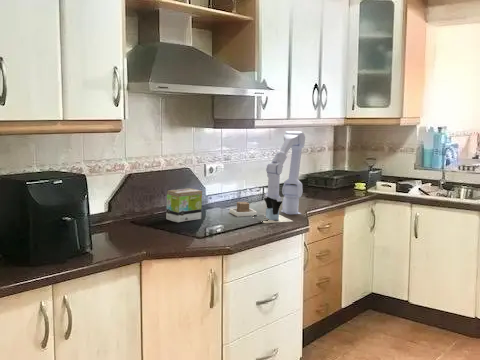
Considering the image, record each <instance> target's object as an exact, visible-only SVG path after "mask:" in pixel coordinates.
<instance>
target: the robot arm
mask: <svg viewBox="0 0 480 360" xmlns="http://www.w3.org/2000/svg"><path fill="white" fill-rule="evenodd" d="M305 142H306V135H305V133H304V132H303V131H289V130H286V131H285V132H284V135H283V143H282V146H281V148H280V150H279V151H277V152H276V153H275V154H274V156H273V159H272V161H271V162H269V163H268V164H267V165H266V168H265V171H266V176H267V192H265V196H264V197H265V198H264V199H263V200H264V201H265V205H266V208H273V214H274V215H276V214H278V211H279V212H282V213H285V215H286V214H287V215H302V213H301V212H299V203H300V198H301V197H302V195H303V192H304V191H303V189H304V187H303V183H302V182H301V181H300V180H299V176H300V166H301V158H302V149H303V148H305ZM290 150H291V156H290V166H289V173H288V179H286V180H285V181H284V183H283V186H282V188H281V193H282V195H283V198H282V197H281V196H280V179H281V178H280V177H281V174H282V173H283V167H284V164H285V162H286V160H287V154H288V152H289V151H290ZM281 205H282V206H281ZM280 207H282V209H281V210H280Z"/></svg>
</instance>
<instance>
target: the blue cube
mask: <svg viewBox="0 0 480 360" xmlns="http://www.w3.org/2000/svg"><path fill="white" fill-rule="evenodd" d="M279 215H280V210H279V211H278V214H276V215H274V214H273V208H267V207H266V208H265V216H266V218H268V219H269V220H278V219H279Z"/></svg>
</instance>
